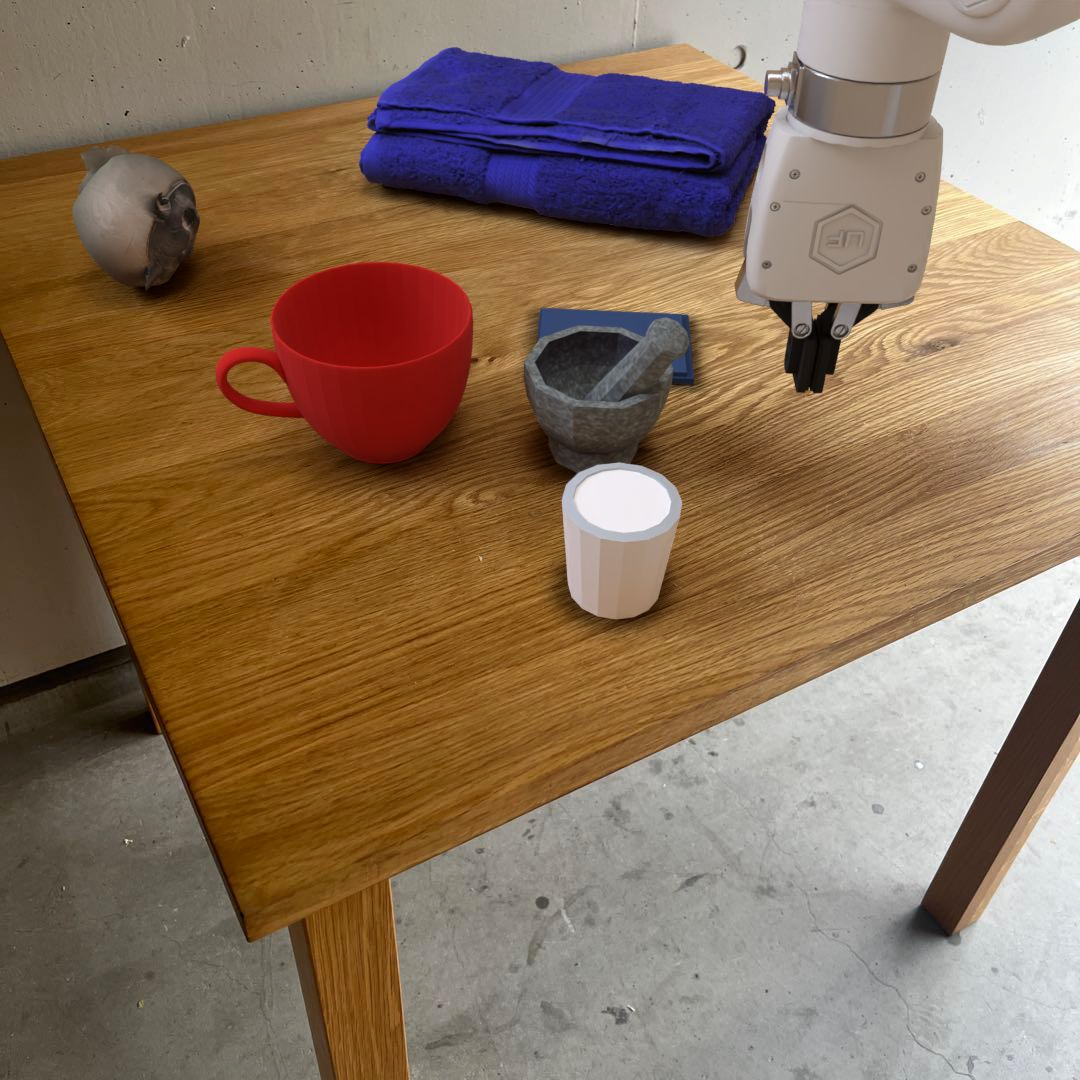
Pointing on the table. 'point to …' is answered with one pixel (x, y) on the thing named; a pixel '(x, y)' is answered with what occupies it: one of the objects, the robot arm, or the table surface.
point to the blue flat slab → (631, 321)
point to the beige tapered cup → (618, 537)
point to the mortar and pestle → (601, 389)
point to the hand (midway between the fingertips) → (806, 380)
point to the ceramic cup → (367, 357)
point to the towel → (569, 142)
